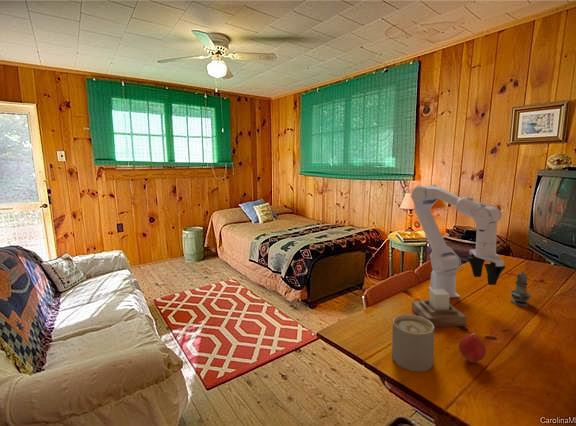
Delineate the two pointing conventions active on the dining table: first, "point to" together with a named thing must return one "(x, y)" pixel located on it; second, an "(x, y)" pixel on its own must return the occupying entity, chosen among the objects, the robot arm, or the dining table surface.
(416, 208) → the robot arm
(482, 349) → the onion
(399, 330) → the grey can
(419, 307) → the taupe stepped square slab
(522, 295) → the salt shaker
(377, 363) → the dining table surface
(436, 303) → the block
